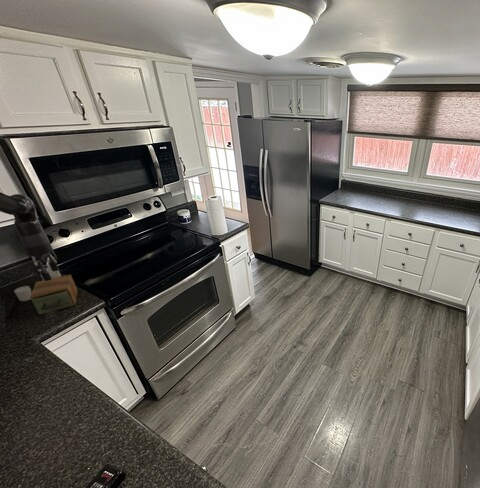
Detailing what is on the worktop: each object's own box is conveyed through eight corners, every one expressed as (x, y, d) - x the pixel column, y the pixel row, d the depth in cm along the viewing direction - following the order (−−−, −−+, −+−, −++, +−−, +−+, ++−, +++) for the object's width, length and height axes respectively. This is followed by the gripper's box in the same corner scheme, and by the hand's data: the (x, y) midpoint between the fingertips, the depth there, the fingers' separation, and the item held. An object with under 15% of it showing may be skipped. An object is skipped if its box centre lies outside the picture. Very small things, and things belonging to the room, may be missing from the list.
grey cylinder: (18, 302, 127) (13, 293, 125) (20, 297, 131) (15, 288, 129) (33, 298, 130) (28, 289, 128) (35, 293, 134) (30, 284, 132)
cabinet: (75, 304, 128) (67, 287, 124) (39, 314, 121) (29, 297, 117) (77, 289, 138) (70, 274, 134) (44, 298, 131) (35, 282, 127)
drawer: (72, 311, 122) (65, 297, 119) (37, 320, 116) (29, 306, 112) (74, 291, 135) (69, 278, 132) (44, 299, 129) (37, 286, 125)
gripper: (32, 237, 114) (47, 269, 121) (15, 251, 103) (33, 285, 110) (54, 235, 117) (68, 266, 124) (41, 248, 106) (57, 281, 113)
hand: (52, 275), depth 117 cm, fingers open, 8 cm apart
